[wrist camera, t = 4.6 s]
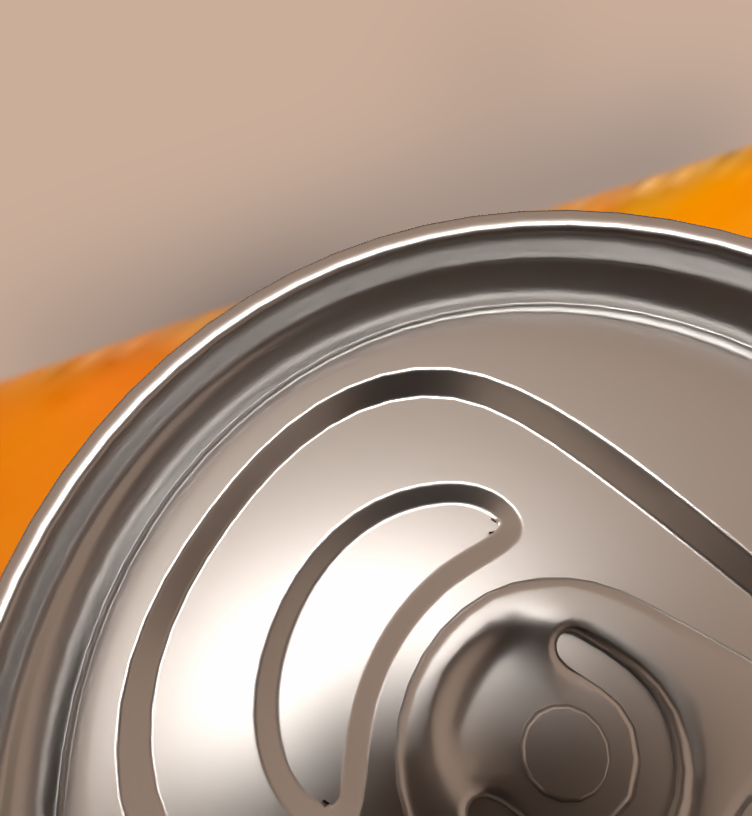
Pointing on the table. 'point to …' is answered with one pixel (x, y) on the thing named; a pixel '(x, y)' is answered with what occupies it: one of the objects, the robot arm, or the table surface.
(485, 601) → the soda can
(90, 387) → the table surface
